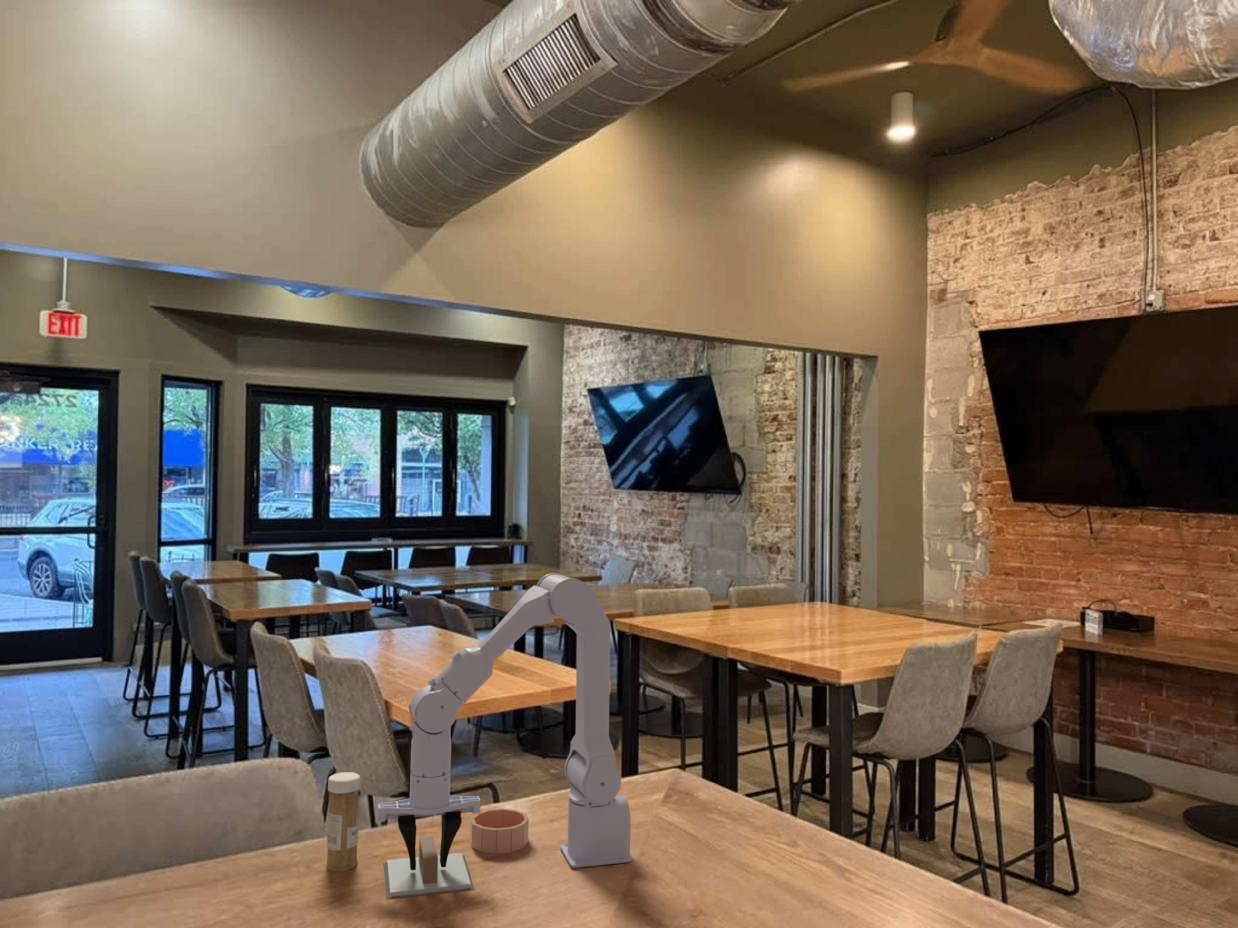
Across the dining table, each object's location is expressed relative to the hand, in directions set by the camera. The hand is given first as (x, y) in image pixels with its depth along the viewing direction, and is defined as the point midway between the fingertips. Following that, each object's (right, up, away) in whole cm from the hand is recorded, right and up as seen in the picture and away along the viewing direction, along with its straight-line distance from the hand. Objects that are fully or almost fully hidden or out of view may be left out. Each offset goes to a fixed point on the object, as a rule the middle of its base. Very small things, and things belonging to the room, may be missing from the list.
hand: (427, 865), depth 128 cm
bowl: (+9, -2, +13) cm, 16 cm away
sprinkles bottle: (-14, -2, +3) cm, 14 cm away
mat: (0, -2, 0) cm, 2 cm away
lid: (0, -1, 0) cm, 1 cm away
